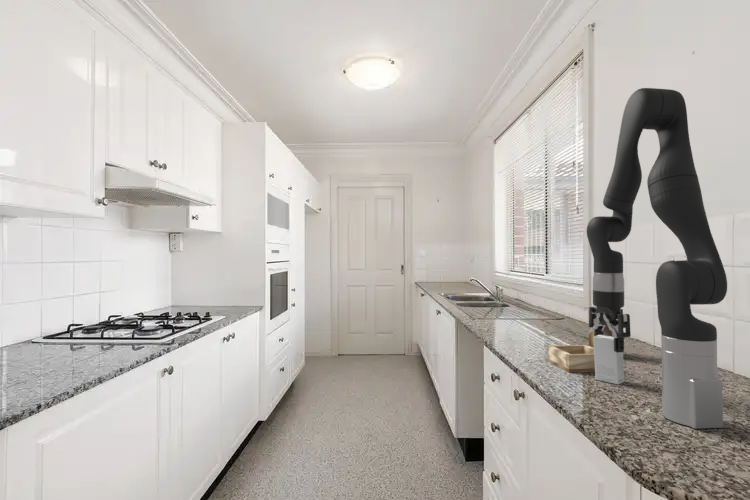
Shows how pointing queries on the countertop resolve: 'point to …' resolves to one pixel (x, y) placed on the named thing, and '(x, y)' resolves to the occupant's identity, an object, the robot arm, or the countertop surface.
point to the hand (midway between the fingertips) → (608, 348)
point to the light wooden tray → (572, 357)
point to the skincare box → (607, 360)
